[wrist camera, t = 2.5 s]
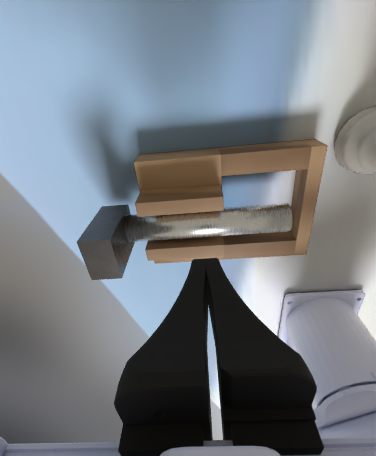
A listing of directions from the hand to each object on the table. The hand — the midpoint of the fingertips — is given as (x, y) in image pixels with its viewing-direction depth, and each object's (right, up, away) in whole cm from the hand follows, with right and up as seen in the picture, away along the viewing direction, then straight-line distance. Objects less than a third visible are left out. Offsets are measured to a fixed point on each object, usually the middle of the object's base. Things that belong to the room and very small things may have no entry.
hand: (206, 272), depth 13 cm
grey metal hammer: (-1, +3, +6) cm, 6 cm away
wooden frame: (+2, +5, +7) cm, 9 cm away
